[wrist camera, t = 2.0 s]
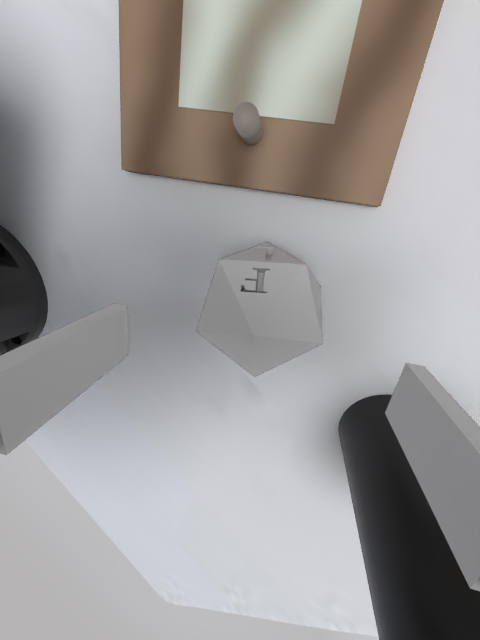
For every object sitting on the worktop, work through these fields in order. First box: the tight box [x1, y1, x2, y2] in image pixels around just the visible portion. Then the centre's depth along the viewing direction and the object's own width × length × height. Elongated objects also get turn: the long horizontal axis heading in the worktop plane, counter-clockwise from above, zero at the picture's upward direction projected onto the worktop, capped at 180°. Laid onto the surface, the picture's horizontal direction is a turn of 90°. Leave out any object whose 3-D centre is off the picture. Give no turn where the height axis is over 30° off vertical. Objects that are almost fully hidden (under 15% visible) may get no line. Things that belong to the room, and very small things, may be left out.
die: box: [196, 242, 323, 377], centre depth 20 cm, size 8×9×10 cm
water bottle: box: [339, 395, 480, 640], centre depth 17 cm, size 10×10×23 cm
